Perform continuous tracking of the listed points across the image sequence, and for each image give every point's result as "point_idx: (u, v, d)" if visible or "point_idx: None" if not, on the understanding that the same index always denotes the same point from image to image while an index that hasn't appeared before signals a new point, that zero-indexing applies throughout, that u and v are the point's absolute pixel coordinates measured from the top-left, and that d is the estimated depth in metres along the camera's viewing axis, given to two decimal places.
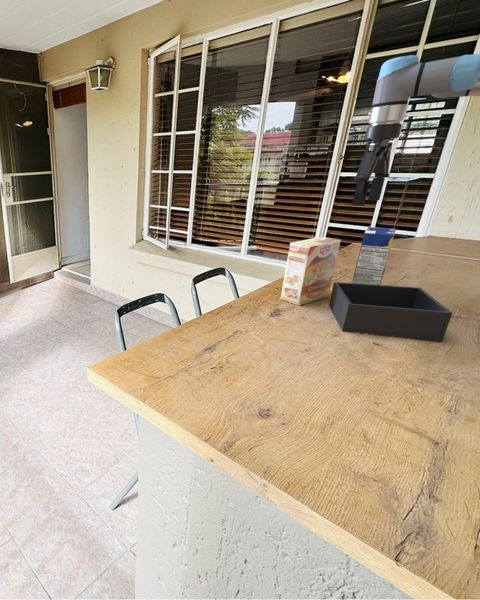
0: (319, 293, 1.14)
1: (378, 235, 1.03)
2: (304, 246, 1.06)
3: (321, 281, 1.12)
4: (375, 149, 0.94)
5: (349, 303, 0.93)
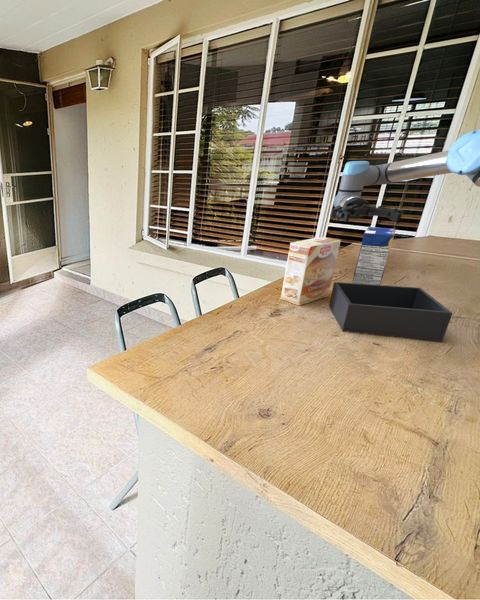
0: (319, 293, 1.14)
1: (378, 235, 1.03)
2: (304, 246, 1.06)
3: (321, 281, 1.12)
4: (337, 207, 1.29)
5: (349, 303, 0.93)
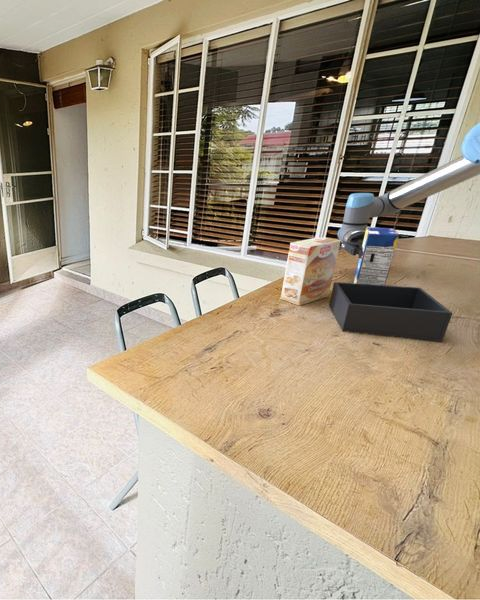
0: (319, 293, 1.14)
1: (383, 235, 1.03)
2: (304, 246, 1.06)
3: (321, 281, 1.12)
4: (344, 243, 1.20)
5: (349, 303, 0.93)
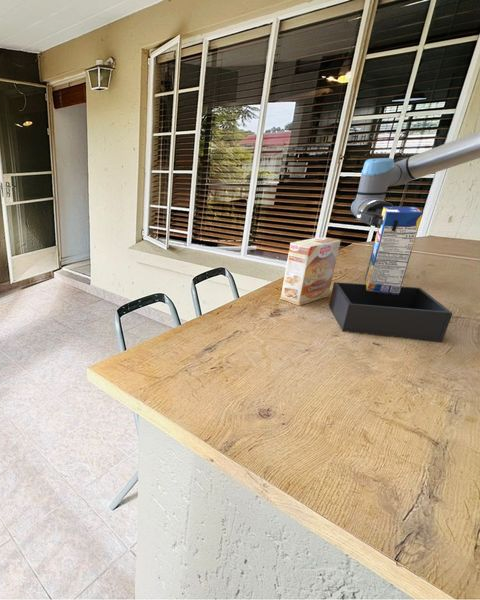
0: (319, 293, 1.14)
1: (404, 214, 0.89)
2: (304, 246, 1.06)
3: (321, 281, 1.12)
4: (360, 213, 1.05)
5: (349, 303, 0.93)
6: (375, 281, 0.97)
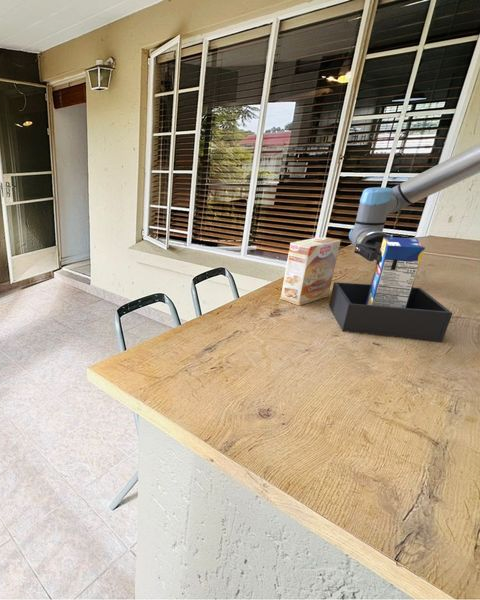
0: (319, 293, 1.14)
1: (405, 248, 0.86)
2: (304, 246, 1.06)
3: (321, 281, 1.12)
4: (359, 246, 1.02)
5: (349, 303, 0.93)
6: None
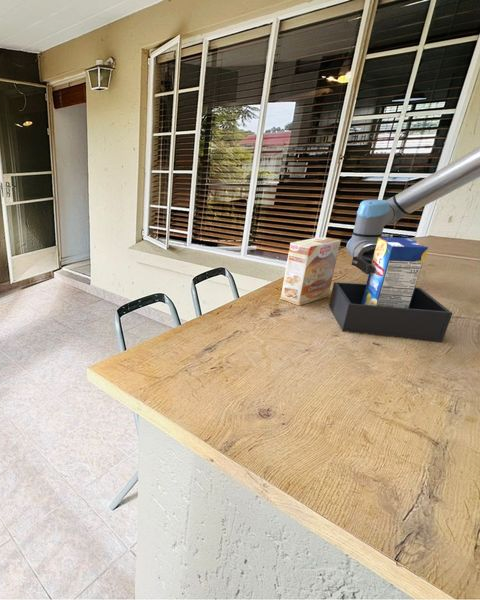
0: (319, 293, 1.14)
1: (409, 248, 0.86)
2: (304, 246, 1.06)
3: (321, 281, 1.12)
4: (356, 258, 1.03)
5: (349, 303, 0.93)
6: None
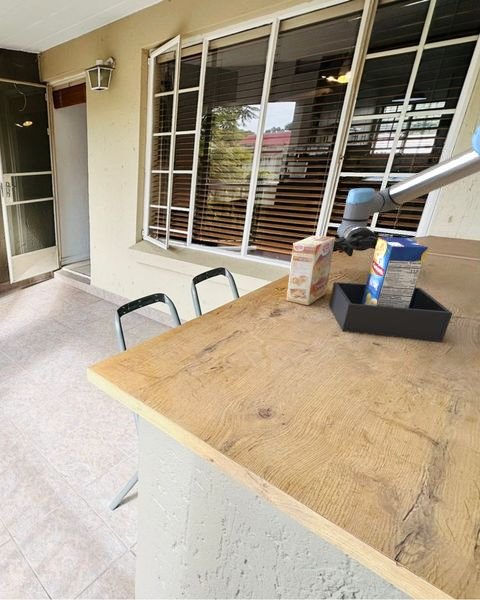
0: (321, 291, 1.15)
1: (409, 248, 0.86)
2: (310, 245, 1.06)
3: (322, 278, 1.13)
4: None
5: (349, 303, 0.93)
6: None
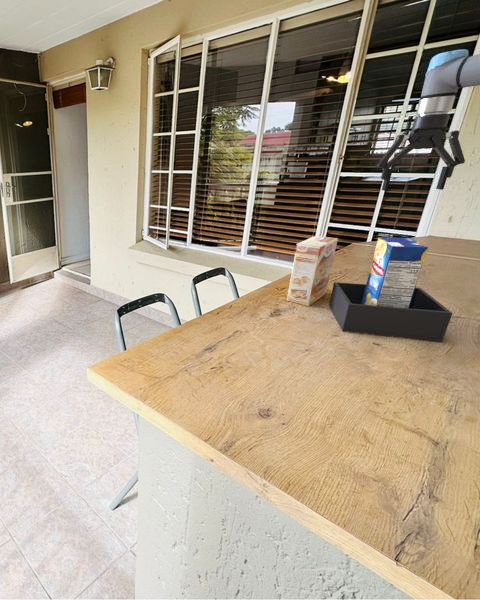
0: (321, 292, 1.15)
1: (409, 248, 0.86)
2: (313, 246, 1.05)
3: (323, 279, 1.13)
4: (397, 140, 1.07)
5: (349, 303, 0.93)
6: None
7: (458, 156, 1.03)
